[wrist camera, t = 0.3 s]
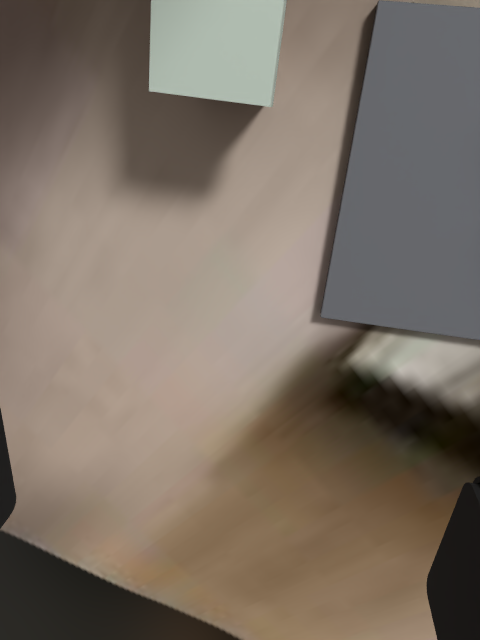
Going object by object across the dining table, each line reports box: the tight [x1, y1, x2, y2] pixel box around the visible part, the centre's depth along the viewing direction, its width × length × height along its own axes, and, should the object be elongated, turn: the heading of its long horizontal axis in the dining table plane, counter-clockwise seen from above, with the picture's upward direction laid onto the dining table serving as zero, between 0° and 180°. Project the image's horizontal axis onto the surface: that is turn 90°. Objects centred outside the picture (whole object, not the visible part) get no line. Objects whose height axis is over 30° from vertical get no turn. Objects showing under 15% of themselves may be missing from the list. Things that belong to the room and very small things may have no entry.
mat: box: [321, 0, 480, 340], centre depth 33 cm, size 22×16×1 cm
